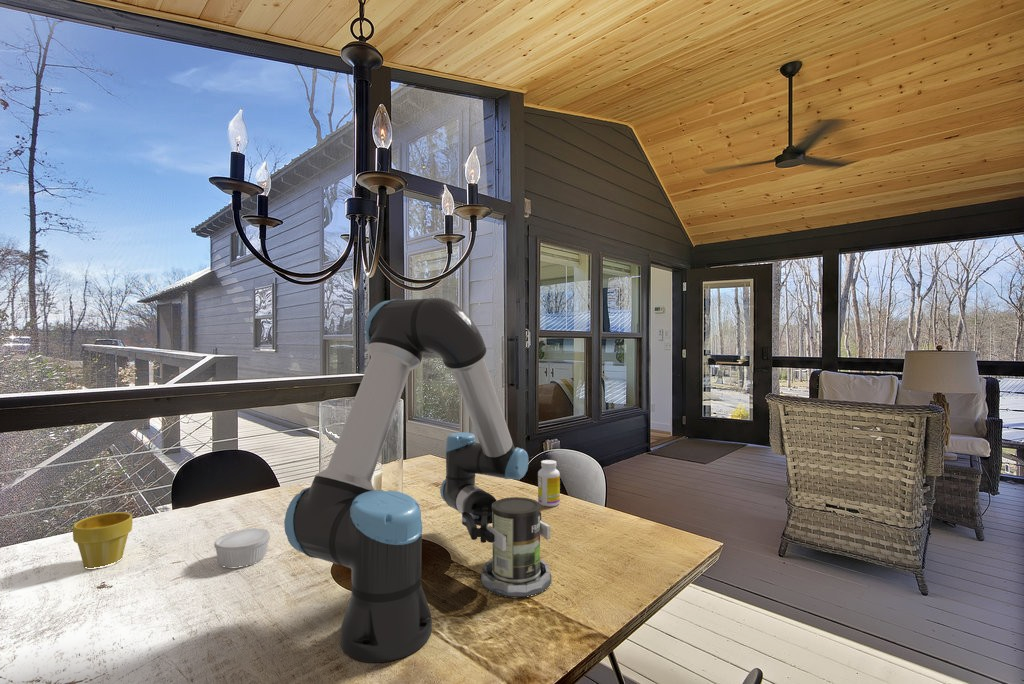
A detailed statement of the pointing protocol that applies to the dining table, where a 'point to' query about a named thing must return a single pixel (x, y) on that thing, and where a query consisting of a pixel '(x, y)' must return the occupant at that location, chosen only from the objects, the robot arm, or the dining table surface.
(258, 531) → the ramekin
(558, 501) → the supplement bottle
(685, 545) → the dining table surface
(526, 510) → the coffee can
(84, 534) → the plant pot
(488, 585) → the shallow dark gray bowl
